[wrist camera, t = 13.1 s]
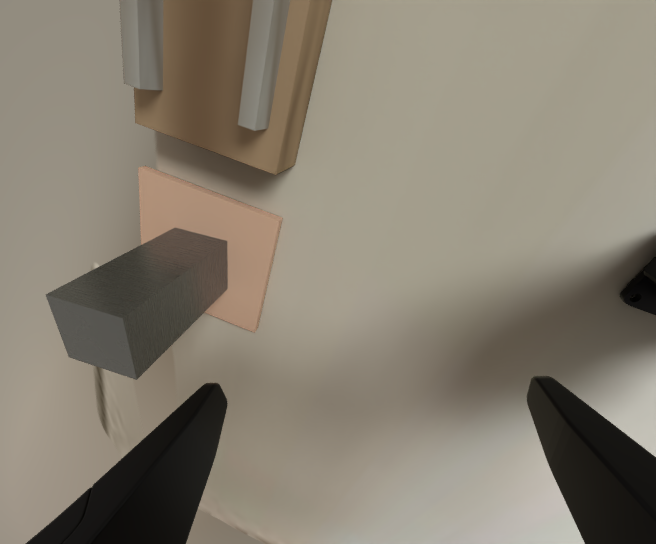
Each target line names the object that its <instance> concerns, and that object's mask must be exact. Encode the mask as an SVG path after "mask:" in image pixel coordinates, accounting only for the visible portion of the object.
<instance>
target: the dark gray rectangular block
mask: <svg viewBox="0 0 656 544" xmlns="http://www.w3.org/2000/svg"><path fill="white" fill-rule="evenodd" d="M227 289H228V260H227V241H226V240H222V239H218V238H214V237H210V236H206V235H202V234H199V233H195V232H191V231H187V230H183V229H179V228H173V229H171V230H169V231H167V232H165V233H163V234H162V235H160V236H158V237H156V238H154V239H152V240H150V241H148V242H146V243H144V244H142V245H141V246H138V247H137V248H135V249H133V250H131V251H129V252H127V253H125V254H123V255H121V256H119V257H117V258H115V259H113V260H111V261H110V262H108V263H106V264H104V265H102V266H100V267H98V268H96V269H94V270H92V271H90V272H88V273H87V274H84V275H83V276H81V277H79V278H77V279H75V280H73V281H71V282H69V283H67V284H65V285H63V286H61V287H59V288H58V289H56V290H54V291H52V292H50V293H48V294H46V297H47V300H48V302H49V305H50V308H51V310H52V313H53V315H54V318H55V321H56V324H57V326H58V329H59V332H60V334H61V337H62V340H63V342H64V345H65V348H66V350H67V353H68V356H69V357H70V358H73V359H76V360H79V361H82V362H85V363H88V364H91V365H94V366H97V367H100V368H103V369H106V370H109V371H112V372H115V373H118V374H121V375H124V376H127V377H130V378H133V379H136V380H137V379H138V378H139V377H140V376H141V375H142V374H143V373H144V372H145V371H146V370H147V369H148V368H149V367H150V366H151V365H152V364H153V363H154V362H155V361H156V360H157V359H158V358H159V357H160V356H161V355H162V354H163V353H164V352H165V351H166V350H167V349H168V348H169V347H170V346H171V345H172V344H173V343H174V342H175V341H176V340H177V339H178V338H179V337H180V336H181V335H182V334H183V333H184V332H185V331H186V330H187V329H188V328H189V327H190V326H191V325H192V324H193V323H194V322H195V321H196V320H197V319H198V318H199V317H200V316H201V315H202V314H203V313H204V312H205V311H206V310H207V309H208V308H209V307H210V306H211V305H212V304H213V303H214V302H215V301H216V300H217V299H218V298H219V297H220V296H221V295H222V294H223V293H224V292H225V291H226V290H227Z"/></svg>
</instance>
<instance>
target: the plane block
mask: <svg viewBox="0 0 656 544" xmlns="http://www.w3.org/2000/svg"><path fill="white" fill-rule="evenodd" d="M331 3H332V0H120V19H121V36H122V37H121V38H122V57H123V74H124V84H127V85H130V86H133V87H134V99H135V123H137V124H140V125H143V126H145V127H148V128H151V129H153V130H156V131H159V132H161V133H164V134H167V135H169V136H172V137H175V138H177V139H180V140H183V141H186V142H188V143H191V144H194V145H196V146H199V147H202V148H205V149H207V150H210V151H213V152H215V153H218V154H221V155H223V156H226V157H229V158H232V159H234V160H237V161H240V162H242V163H245V164H248V165H250V166H253V167H256V168H259V169H261V170H264V171H267V172H269V173H272V174H275V175H276V174H278V173H280V172H282V171H284V170H286V169H288V168H290V167H292V166H294V165H295V162H296V157H297V153H298V148H299V144H300V140H301V135H302V131H303V126H304V122H305V118H306V113H307V109H308V104H309V100H310V96H311V91H312V87H313V82H314V78H315V74H316V69H317V65H318V60H319V56H320V52H321V47H322V43H323V38H324V34H325V30H326V25H327V21H328V16H329V12H330V7H331Z"/></svg>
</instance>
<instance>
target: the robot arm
mask: <svg viewBox="0 0 656 544" xmlns="http://www.w3.org/2000/svg"><path fill="white" fill-rule="evenodd" d="M634 294H636V296H635V297H633V298H630V297H631V296H632V295H634ZM620 298H621V299H622V300H623V301H624V302H625V303H626V304H628V305H630V306H633V307H635V308H638V309H641V310H643V311H646V312H649V313H652V314H654V315H656V257H655V258H654V259H653V260H652V261H651V262H650V263H649V264H648V265H647V266H646V267H645V268H644V269H643V270H642V271H641V272H640V273H639V274H638V275H637V276H636V277H635V278H634V279H633V280H632V281H631V282H630V283H629V284H628V285H627V286H626V287H625V288H624V289H623V290H622V292H621V293H620ZM527 403H528V407H529V410H530V412H531V415H532V418H533V421H534V424H535V427H536V430H537V433H538V436H539V439H540V441H541V444H542V447H543V450H544V453H545V456H546V459H547V461H548V464H549V466H550V469H551V471H552V473H553V476H554V478H555V480H556V482H557V484H558V486H559V489H560V491H561V493H562V495H563V497H564V499H565V501H566V504H567V506H568V508H569V510H570V512H571V514H572V517H573V519H574V521H575V523H576V525H577V527H578V529H579V532H580V534H581V536H582V538H583V540H584V542H585V544H656V457H655V456H653V455H652V454H651V453H649V452H648V451H647V450H646V449H644V448H643V447H642V446H640V445H639V444H638V443H636V442H635V441H634V440H633V439H631V438H630V437H629V436H627V435H626V434H625V433H624V432H622V431H621V430H620V429H618V428H617V427H616V426H614V425H613V424H612V423H611V422H609V421H608V420H607V419H605V418H604V417H603V416H601V415H600V414H599V413H598V412H596V411H595V410H594V409H592V408H591V407H590V406H589V405H587V404H586V403H585V402H583V401H582V400H581V399H579V398H578V397H577V396H576V395H574V394H573V393H572V392H570V391H569V390H568V389H566V388H565V387H564V386H563V385H561V384H560V383H559V382H557V381H556V380H555V379H553V378H552V377H549V376H535V377H533V378H532V379H531V382H530V386H529V390H528V394H527ZM226 410H227V399H226V397H225V395H224V393H223V391H222V389H221V386H220V385H219V384H218V383H206V384H204V385H203V386H202V387H200V388H199V389H198V390H197V391H196V392H195V393H194V394H193V395H192V396H191V397H189V398H188V399H187V400H186V401H185V402H184V403H183V404H182V405H181V406H180V407H178V408H177V409H176V410H175V411H174V412H173V413H172V414H171V415H170V416H169V417H167V418H166V419H165V420H164V421H163V422H162V423H161V424H160V425H159V426H158V427H156V428H155V429H154V430H153V431H152V432H151V433H150V434H149V435H148V436H146V437H145V438H144V439H143V440H142V441H141V442H140V443H139V444H138V445H137V446H135V447H134V448H133V449H132V450H131V451H130V452H129V453H128V454H127V455H126V456H124V457H123V458H122V459H121V460H120V461H119V462H118V463H117V464H116V465H115V466H114V467H112V468H111V469H110V470H109V471H108V472H107V473H106V474H105V475H104V476H102V477H101V478H100V479H99V480H98V481H97V482H96V483H95V484H94V485H93V486H92V488H89V489H88V490H87V491H86V492H85V493H84V494H83V495H81V497H79V498H78V499H77V500H76V501H75V502H74V503H73V504H71V505H70V506H69V507H68V508H67V509H66V510H65V511H64V512H62V513H61V514H60V515H59V516H58V517H57V518H56V519H54V520H53V521H52V522H51V523H50V524H49V525H47V526H46V527H45V528H44V529H43V530H41V531H40V532H39V533H38V534H37V535H35V536H34V537H33V538H32V539H31V540H30V541H28V542H27V543H26V544H186V541H187V539H188V536H189V532H190V530H191V526H192V524H193V521H194V518H195V515H196V512H197V509H198V506H199V503H200V500H201V497H202V494H203V491H204V489H205V486H206V483H207V480H208V477H209V474H210V471H211V468H212V465H213V462H214V459H215V455H216V451H217V448H218V443H219V439H220V435H221V431H222V426H223V422H224V418H225V414H226Z"/></svg>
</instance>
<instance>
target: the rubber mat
mask: <svg viewBox="0 0 656 544" xmlns="http://www.w3.org/2000/svg"><path fill="white" fill-rule="evenodd" d="M138 170H139V197H140V225H141V245H142V244H144V243H146V242H148V241H150V240H152V239H154V238H156V237H158V236H160V235H162V234H163V233H165V232H167V231H169V230H171V229H173V228H179V229H183V230H187V231H191V232H195V233H199V234H202V235H206V236H210V237H214V238H218V239H222V240H226V241H227V260H228V289H227V290H226V291H225V292H224V293H223V294H222V295H221V296H220V297H219V298H218V299H217V300H216V301H215V302H214V303H213V304H212V305H211V306H210V307H209V308H208V309H207V310H206V311H205V313H207V314H210V315H212V316H215V317H217V318H220V319H222V320H225V321H227V322H229V323H232V324H234V325H237V326H239V327H242V328H244V329H247V330H249V331H252V332H254V333H255V331H256V330H257V328H258V325H259V320H260V316H261V311H262V307H263V303H264V298H265V294H266V289H267V285H268V281H269V276H270V272H271V267H272V263H273V259H274V254H275V250H276V245H277V241H278V237H279V232H280V228H281V223H282V219H283V218H281V217H279V216H276V215H273V214H271V213H268V212H265V211H263V210H260V209H257V208H255V207H252V206H250V205H247V204H244V203H242V202H239V201H236V200H234V199H231V198H228V197H226V196H223V195H220V194H218V193H215V192H212V191H210V190H207V189H205V188H202V187H199V186H197V185H194V184H191V183H189V182H186V181H183V180H181V179H178V178H175V177H173V176H170V175H168V174H165V173H162V172H160V171H157V170H154V169H152V168H149V167H146V166H143V167H139V168H138Z"/></svg>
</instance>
